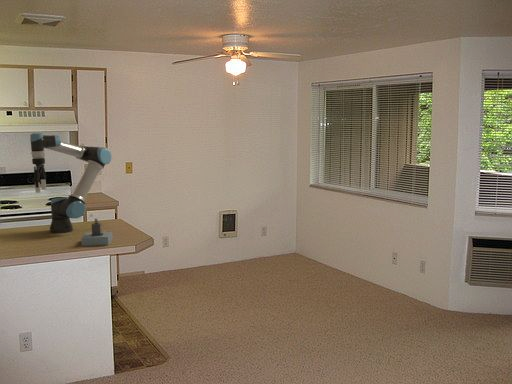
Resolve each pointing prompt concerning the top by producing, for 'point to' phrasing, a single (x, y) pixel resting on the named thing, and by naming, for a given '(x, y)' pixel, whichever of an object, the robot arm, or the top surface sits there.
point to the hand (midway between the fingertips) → (41, 191)
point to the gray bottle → (96, 228)
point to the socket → (97, 239)
